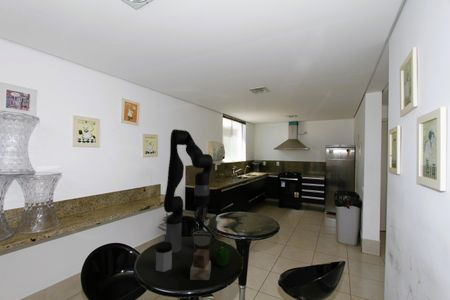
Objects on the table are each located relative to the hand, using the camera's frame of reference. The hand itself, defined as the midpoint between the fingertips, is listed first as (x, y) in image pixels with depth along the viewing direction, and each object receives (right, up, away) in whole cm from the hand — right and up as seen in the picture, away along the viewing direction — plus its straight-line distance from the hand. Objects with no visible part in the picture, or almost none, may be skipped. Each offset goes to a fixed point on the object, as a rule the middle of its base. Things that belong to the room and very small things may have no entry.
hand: (201, 228), depth 107 cm
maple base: (0, -23, 0) cm, 23 cm away
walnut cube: (0, -18, 0) cm, 18 cm away
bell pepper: (+10, -24, +10) cm, 28 cm away
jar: (-20, -23, +6) cm, 31 cm away
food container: (-2, -24, +31) cm, 39 cm away
